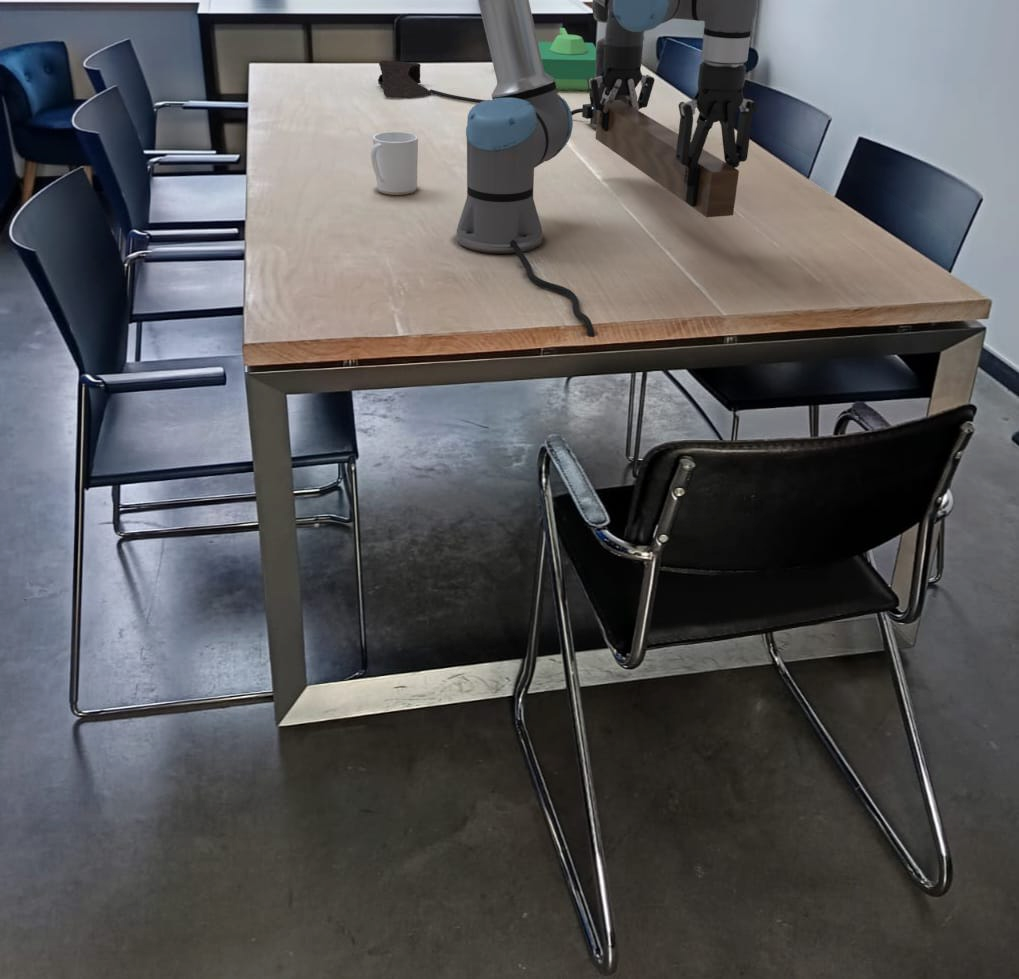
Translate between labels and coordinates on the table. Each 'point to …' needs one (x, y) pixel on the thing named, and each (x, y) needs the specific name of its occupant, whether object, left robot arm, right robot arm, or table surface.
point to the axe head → (401, 79)
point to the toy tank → (569, 61)
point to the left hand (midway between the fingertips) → (705, 202)
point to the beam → (667, 159)
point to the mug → (395, 162)
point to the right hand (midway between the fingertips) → (617, 129)
